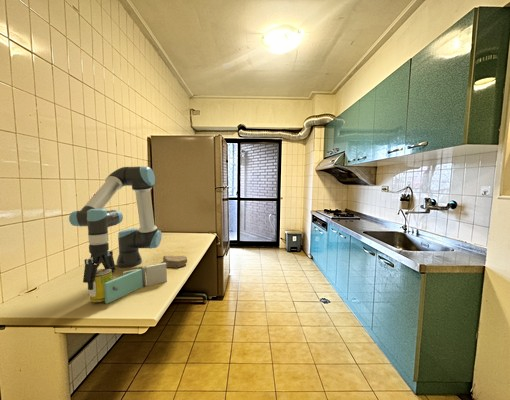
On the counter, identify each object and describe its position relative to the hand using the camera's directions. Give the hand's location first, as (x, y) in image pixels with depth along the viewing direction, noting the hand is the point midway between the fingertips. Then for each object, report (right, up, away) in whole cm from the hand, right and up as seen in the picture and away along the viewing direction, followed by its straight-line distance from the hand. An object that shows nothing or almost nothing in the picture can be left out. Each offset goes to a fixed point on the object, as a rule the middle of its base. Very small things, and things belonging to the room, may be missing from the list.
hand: (101, 291), depth 111 cm
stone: (+18, -1, +50) cm, 53 cm away
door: (+9, -4, +5) cm, 11 cm away
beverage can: (0, -3, 0) cm, 3 cm away
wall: (+13, -3, +17) cm, 22 cm away
